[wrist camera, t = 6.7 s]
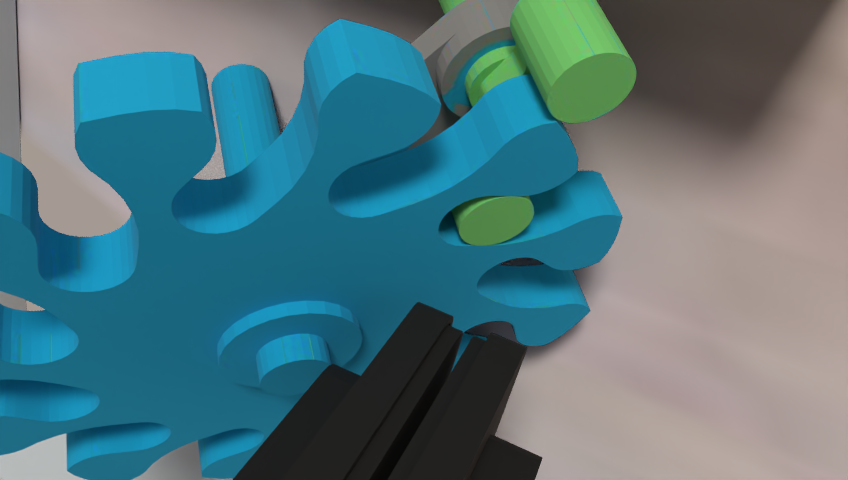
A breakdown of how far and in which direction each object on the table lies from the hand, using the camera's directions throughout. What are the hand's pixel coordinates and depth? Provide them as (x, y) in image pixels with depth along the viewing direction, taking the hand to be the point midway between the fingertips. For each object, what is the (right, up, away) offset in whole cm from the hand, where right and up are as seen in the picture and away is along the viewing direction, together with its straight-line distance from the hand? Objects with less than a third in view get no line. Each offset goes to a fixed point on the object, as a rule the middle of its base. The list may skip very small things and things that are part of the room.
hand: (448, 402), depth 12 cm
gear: (-1, +3, +3) cm, 5 cm away
